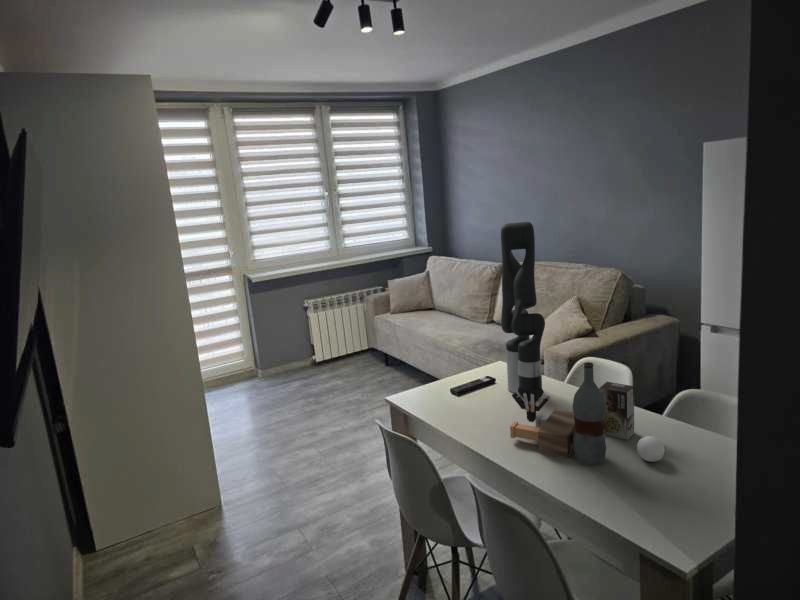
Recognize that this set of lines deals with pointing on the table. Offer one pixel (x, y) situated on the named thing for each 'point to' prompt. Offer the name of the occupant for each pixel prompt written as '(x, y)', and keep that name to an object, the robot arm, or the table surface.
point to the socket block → (557, 434)
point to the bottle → (589, 421)
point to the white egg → (650, 448)
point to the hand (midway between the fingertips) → (531, 421)
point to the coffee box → (618, 409)
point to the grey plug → (540, 420)
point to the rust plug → (524, 431)
